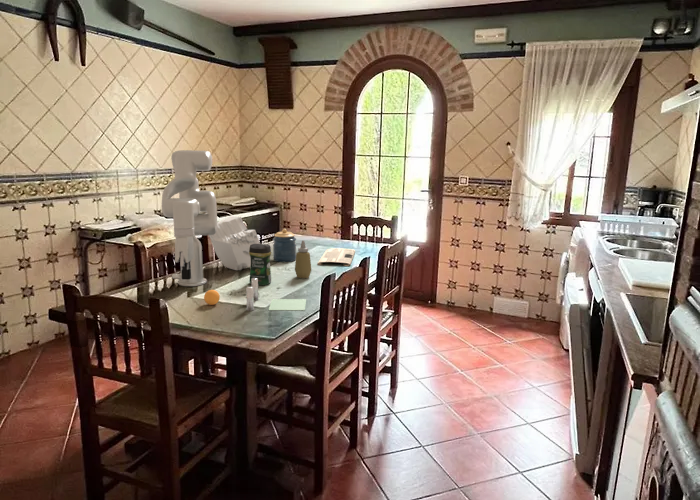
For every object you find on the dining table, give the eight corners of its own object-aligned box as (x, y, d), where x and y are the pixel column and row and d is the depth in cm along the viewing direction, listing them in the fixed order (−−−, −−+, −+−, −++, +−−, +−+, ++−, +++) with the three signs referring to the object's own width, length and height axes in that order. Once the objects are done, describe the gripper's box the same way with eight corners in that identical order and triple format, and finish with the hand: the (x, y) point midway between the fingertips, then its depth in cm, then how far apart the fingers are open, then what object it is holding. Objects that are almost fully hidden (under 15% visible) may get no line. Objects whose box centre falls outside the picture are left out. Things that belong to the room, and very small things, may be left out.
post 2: (251, 300, 205) (250, 279, 203) (252, 298, 208) (251, 277, 206) (257, 300, 205) (257, 279, 203) (258, 298, 208) (258, 277, 206)
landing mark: (268, 310, 193) (268, 309, 193) (272, 299, 207) (272, 299, 207) (304, 310, 194) (304, 309, 194) (306, 299, 208) (306, 299, 208)
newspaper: (350, 267, 268) (350, 262, 268) (314, 266, 270) (314, 260, 269) (355, 253, 304) (355, 248, 303) (323, 252, 306) (323, 247, 305)
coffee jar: (247, 284, 229) (246, 244, 225) (254, 280, 236) (253, 241, 232) (266, 286, 226) (266, 246, 223) (273, 282, 234) (273, 243, 230)
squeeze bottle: (311, 275, 248) (311, 239, 244) (311, 279, 240) (311, 242, 236) (295, 274, 248) (295, 239, 244) (294, 279, 240) (293, 242, 236)
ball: (202, 306, 196) (202, 292, 195) (206, 302, 202) (205, 287, 201) (218, 306, 196) (217, 292, 195) (221, 302, 202) (220, 287, 201)
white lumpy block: (268, 262, 260) (252, 219, 250) (243, 277, 251) (226, 232, 241) (246, 256, 275) (231, 215, 264) (222, 270, 265) (205, 228, 255)
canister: (298, 257, 286) (298, 227, 283) (293, 262, 274) (293, 230, 270) (276, 256, 287) (275, 226, 284) (270, 261, 275) (269, 230, 271)
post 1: (246, 310, 192) (245, 288, 190) (247, 308, 195) (246, 286, 193) (253, 310, 192) (252, 288, 190) (254, 308, 195) (253, 286, 193)
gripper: (180, 229, 200) (182, 274, 203) (168, 235, 185) (170, 283, 188) (199, 229, 200) (201, 274, 203) (189, 235, 186) (191, 283, 189)
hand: (186, 278), depth 196 cm, fingers closed
